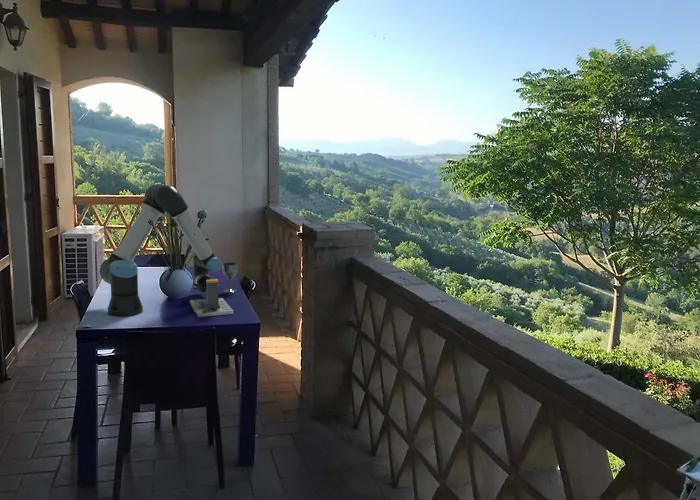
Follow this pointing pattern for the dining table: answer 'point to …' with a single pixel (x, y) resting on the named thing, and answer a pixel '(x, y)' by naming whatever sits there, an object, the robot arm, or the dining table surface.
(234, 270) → the wine glass
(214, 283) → the block
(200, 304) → the plate
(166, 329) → the dining table surface
